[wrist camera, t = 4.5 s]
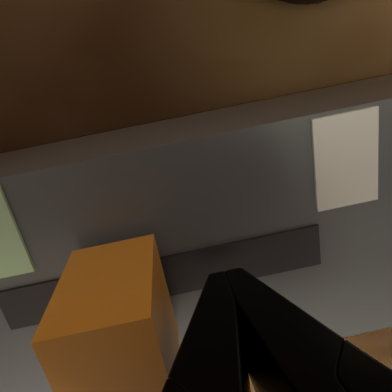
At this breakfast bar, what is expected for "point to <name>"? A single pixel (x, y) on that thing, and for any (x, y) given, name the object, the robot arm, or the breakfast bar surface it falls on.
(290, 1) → the coil
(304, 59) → the breakfast bar surface
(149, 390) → the orange upright box
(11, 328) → the grey flat block
